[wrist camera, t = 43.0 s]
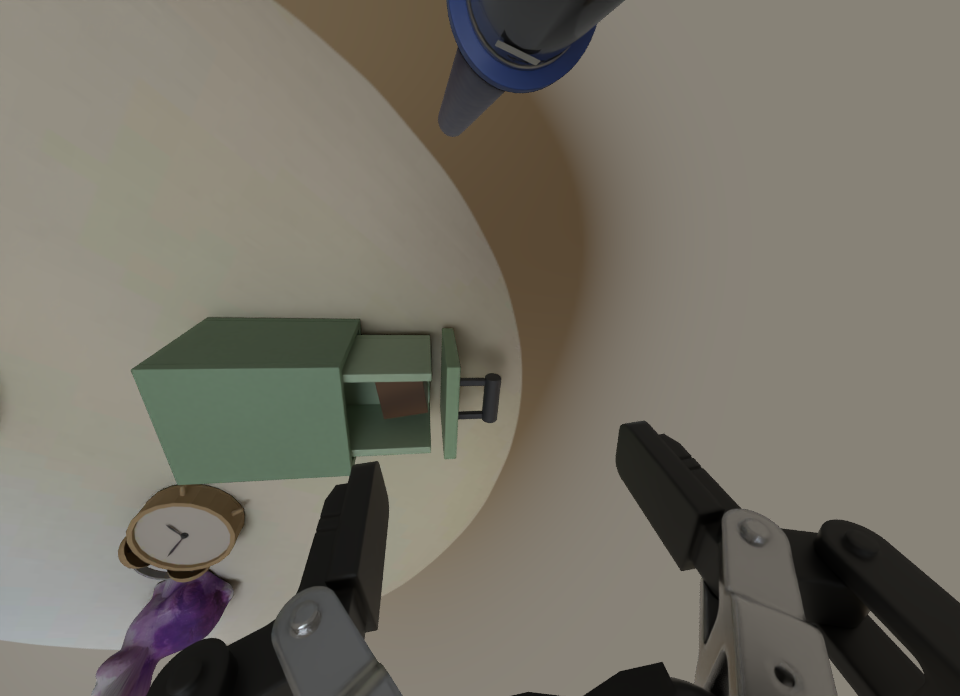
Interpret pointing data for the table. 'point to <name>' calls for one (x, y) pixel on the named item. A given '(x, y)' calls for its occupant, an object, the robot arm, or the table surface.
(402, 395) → the block
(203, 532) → the alarm clock
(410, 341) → the drawer
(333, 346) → the cabinet
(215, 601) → the figurine
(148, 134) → the table surface
